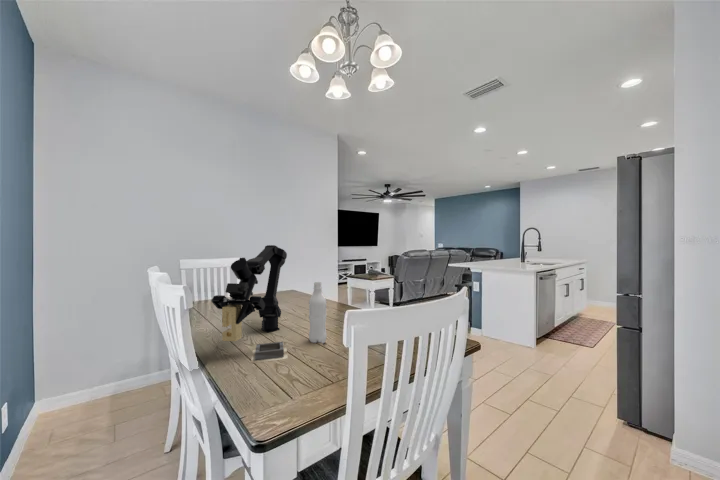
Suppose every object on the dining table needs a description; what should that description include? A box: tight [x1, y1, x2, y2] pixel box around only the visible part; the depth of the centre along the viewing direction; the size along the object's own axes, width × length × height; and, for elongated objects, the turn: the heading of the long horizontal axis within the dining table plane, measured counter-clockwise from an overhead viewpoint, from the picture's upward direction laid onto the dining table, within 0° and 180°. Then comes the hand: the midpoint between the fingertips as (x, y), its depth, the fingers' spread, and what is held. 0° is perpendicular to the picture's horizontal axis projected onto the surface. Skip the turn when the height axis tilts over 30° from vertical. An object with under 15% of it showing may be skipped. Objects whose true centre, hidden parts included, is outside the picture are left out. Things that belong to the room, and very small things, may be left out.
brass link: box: [221, 304, 243, 342], centre depth 102 cm, size 4×5×12 cm
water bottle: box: [308, 281, 328, 344], centre depth 117 cm, size 7×7×25 cm
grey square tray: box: [250, 341, 289, 364], centre depth 103 cm, size 12×12×4 cm
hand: (230, 323), depth 101 cm, fingers closed on brass link, 5 cm apart
